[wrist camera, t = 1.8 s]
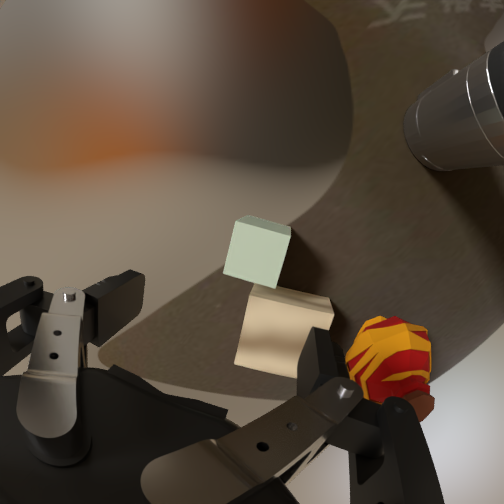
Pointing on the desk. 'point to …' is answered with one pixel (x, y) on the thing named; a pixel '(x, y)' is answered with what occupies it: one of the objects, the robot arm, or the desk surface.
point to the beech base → (279, 328)
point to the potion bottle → (392, 362)
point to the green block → (257, 250)
